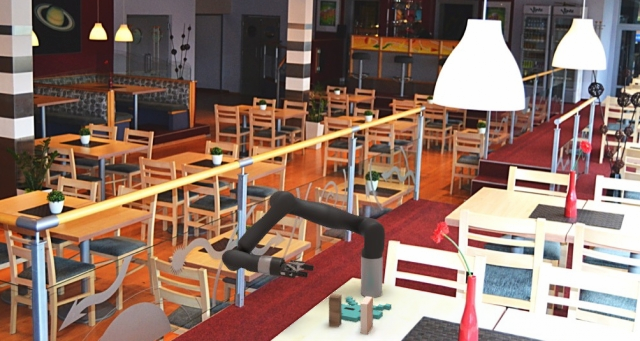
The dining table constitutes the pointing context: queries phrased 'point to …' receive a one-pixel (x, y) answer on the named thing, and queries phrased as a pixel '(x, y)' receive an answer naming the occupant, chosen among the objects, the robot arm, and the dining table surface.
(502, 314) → the dining table surface
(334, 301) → the block
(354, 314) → the alien figure
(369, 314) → the tile
